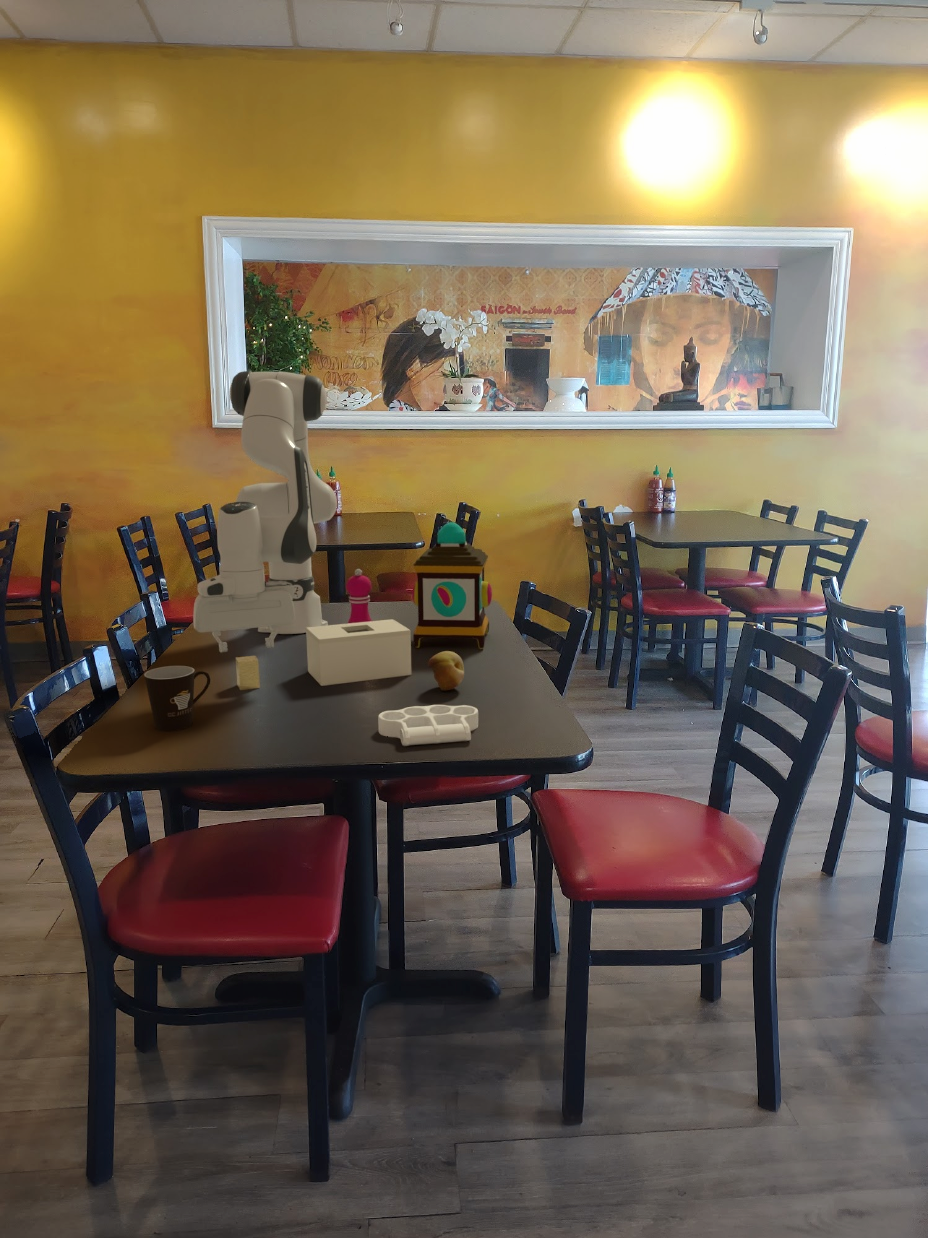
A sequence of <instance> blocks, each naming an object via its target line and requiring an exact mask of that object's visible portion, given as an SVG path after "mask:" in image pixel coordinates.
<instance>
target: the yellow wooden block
mask: <svg viewBox="0 0 928 1238" xmlns="http://www.w3.org/2000/svg"><path fill="white" fill-rule="evenodd" d="M259 666H260V665H259V659H258V658H257V656H256V655H250V656H249V655H246V656H240V657H238V656H236V657H235V668H236V669H235V671H236V685H237V687H238V689H239V690H240V691H246V690H253V689H260V688H261V685H260V683H261V682H260V667H259Z"/></svg>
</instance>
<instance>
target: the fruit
mask: <svg viewBox="0 0 928 1238" xmlns="http://www.w3.org/2000/svg"><path fill="white" fill-rule="evenodd" d="M427 665H428V668H430V669H431V670H432V672H433V677H434V680H435V681H436V682H437V686H438V687H439V689H440V690H441V691H452V690H454V689H455V688H456V687H458V686H459V685H460V684H461V682H463V681H462V680H463V679H464V677H465V665H464V662H463V659H462V657H461V656H460V655H458V654H457V653H455V651H449V650H445V651H441V652H438V653H436V654H435V655H432V657H431V658H429V659H428V664H427Z"/></svg>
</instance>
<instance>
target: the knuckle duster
mask: <svg viewBox="0 0 928 1238" xmlns="http://www.w3.org/2000/svg"><path fill="white" fill-rule="evenodd" d="M377 718H378V720H377V721H378V734H380V735H381V736H385V737H387V736H388V738H398V739H400V743H401V745H402V746H403V747H409V746H415V745H417V746H418V745H430V744H432V745H433V744H442V743H443V744H444V743H457V742H468V741H471V739H472V733H471V732H472V731H475V730H476V729H478V727H479V710H478V708H477V707H475V706H472V705H468V704H467V705H466V704H462V705H447V704H432V705H425V706H422V705H421V706H419V705H414V706H409V707H404V708H401V709H396V710H385V711H382V712H381V713H379V714H378V716H377Z"/></svg>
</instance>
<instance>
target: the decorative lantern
mask: <svg viewBox="0 0 928 1238" xmlns="http://www.w3.org/2000/svg"><path fill="white" fill-rule="evenodd" d="M466 538H467V537H466V533H465V530H464V529H463V528H462V527H461V526H460V525H459V524H458V523H456V522H451V521H450V522H447V523H445V524H444V525H443V526H442V527H441V528H440V529H439V530H438V533H437V542H436V543H435V544H434V545H433V547H432V548H427V549H426V550H425V551H424V552H423V553H422V554H421V555H420V557H418V558H417V559H416V560H415V562H414V563H413V565H412V566H413V569H414V572H415V573H416V576H417V580H416V581H415V582H414V584H413V586H412V590H411V593H412V594H411V597H412V602H413V604H414V605H415V606H416V607H417V612H418V613H417V618H418V619H417V620H418V621H417V626H416V627H415V629H414V632H413V636H412V637H413V638H412V639H413V645H414V648H416V649H418V648H420V646H421V640H422V638H423V639H424V638H425V639H426V638H430V639H431V638H432V639H433V638H434V639H435V638H436V639H437V638H438V639H474V640H476V641H477V645H478V649H479V650H482V649H484V648H485V647H484V646H485V640H486V639H485V638H486V637H485V636H486V635H487V634H488V633H489V630H490V621H489V618H488V616H487V614H486V613H485V612H486V611H485V608H487V607H489V606H490V605H491V602H492V596H493V589H492V586H491V584H490V583H489V582H488V581H485V565H486V563H487V561H488V558H489V555H488V554H486V552H484V551H482V549H480V548H475V546H472V545H471V543H470V542H469V543H468V541H467V539H466Z"/></svg>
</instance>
